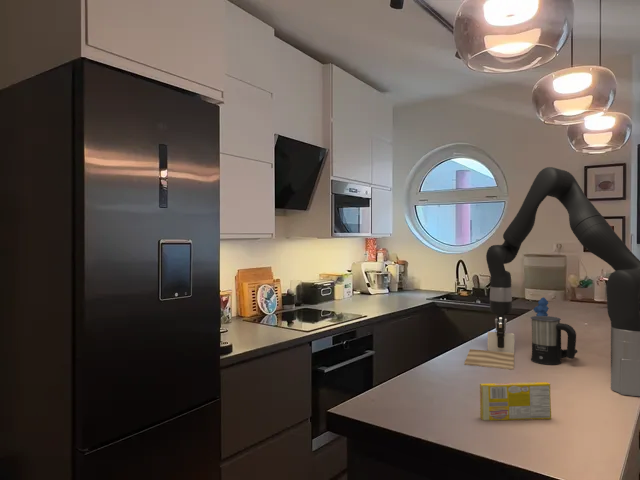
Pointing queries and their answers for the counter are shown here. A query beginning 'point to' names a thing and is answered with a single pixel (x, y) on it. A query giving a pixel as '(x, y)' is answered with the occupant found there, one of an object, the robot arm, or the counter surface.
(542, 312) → the grapes
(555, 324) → the milk frother
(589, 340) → the counter surface
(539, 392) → the candy box
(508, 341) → the card box
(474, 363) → the mat
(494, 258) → the robot arm
